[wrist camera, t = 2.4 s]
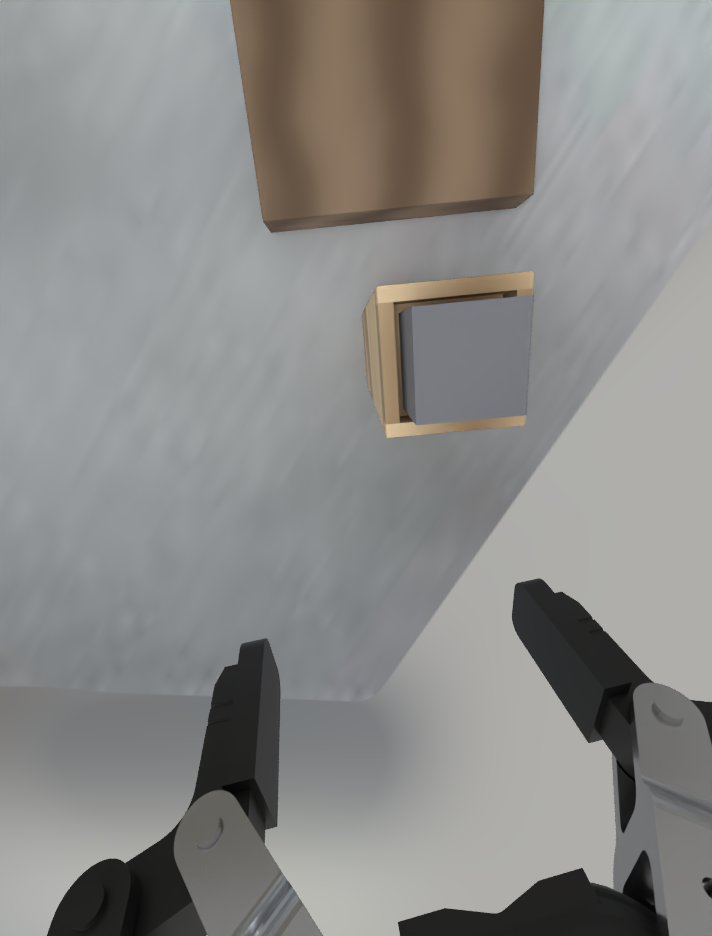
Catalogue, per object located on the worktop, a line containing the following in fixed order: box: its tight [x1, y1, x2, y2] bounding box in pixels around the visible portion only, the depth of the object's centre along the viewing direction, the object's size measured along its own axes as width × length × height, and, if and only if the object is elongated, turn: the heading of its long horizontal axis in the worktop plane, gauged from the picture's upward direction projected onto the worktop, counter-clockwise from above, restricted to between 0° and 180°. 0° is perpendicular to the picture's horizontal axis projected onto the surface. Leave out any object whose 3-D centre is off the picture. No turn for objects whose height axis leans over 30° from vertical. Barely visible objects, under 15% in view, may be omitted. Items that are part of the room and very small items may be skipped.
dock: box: [230, 0, 544, 233], centre depth 21 cm, size 16×12×2 cm
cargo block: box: [398, 295, 533, 425], centre depth 12 cm, size 3×3×3 cm
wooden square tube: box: [362, 271, 534, 438], centre depth 20 cm, size 5×5×15 cm
